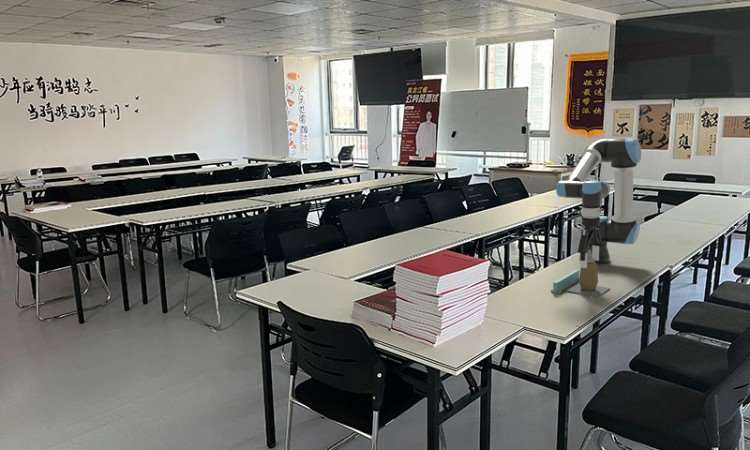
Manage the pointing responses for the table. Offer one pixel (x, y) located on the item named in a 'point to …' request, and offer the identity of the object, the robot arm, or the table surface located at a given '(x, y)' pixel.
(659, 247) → the table surface
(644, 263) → the table surface
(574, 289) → the mat
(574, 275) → the fence
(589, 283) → the squeeze bottle
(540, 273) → the table surface
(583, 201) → the robot arm
